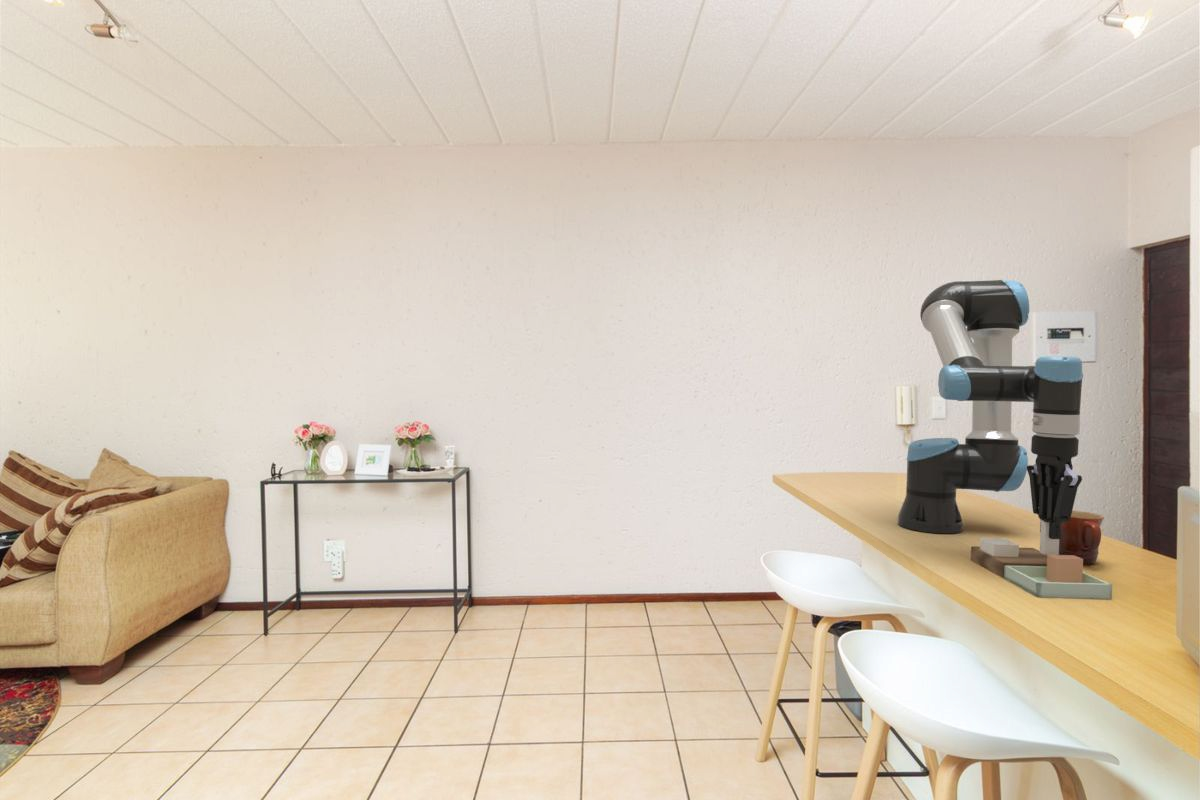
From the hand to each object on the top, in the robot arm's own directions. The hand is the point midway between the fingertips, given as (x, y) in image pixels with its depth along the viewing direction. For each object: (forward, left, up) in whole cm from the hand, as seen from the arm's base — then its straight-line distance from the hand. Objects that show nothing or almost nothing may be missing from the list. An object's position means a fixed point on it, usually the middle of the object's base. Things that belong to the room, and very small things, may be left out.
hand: (1048, 553), depth 127 cm
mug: (-11, +14, -5) cm, 19 cm away
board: (-5, -3, -5) cm, 8 cm away
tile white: (-6, -6, -2) cm, 9 cm away
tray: (+6, -3, -5) cm, 8 cm away
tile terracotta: (+3, 0, -2) cm, 4 cm away
